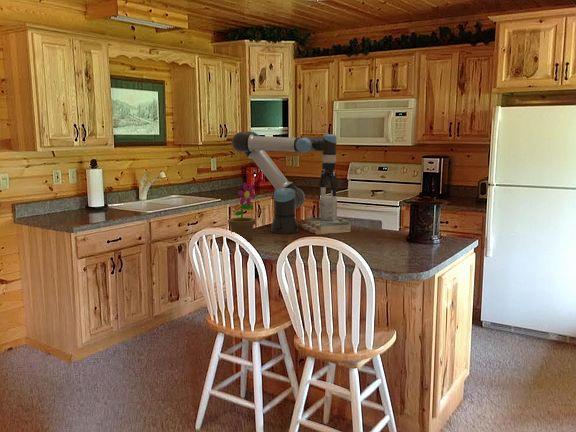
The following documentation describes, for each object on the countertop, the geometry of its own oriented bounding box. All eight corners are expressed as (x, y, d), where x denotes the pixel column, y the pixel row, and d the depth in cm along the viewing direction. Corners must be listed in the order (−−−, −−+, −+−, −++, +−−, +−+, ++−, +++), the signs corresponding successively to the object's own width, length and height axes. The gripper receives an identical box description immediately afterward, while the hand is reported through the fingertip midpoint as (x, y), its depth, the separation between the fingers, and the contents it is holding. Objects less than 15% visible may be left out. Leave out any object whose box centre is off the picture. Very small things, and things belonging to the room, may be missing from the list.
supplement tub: (327, 220, 314) (327, 195, 312) (340, 222, 308) (340, 196, 306) (316, 222, 307) (316, 196, 305) (329, 224, 301) (329, 198, 299)
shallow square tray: (301, 227, 313) (301, 218, 312) (334, 225, 321) (334, 216, 320) (316, 234, 295) (316, 224, 294) (350, 231, 302) (350, 222, 301)
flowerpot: (241, 243, 272) (240, 183, 267) (222, 239, 282) (221, 181, 277) (261, 239, 282) (261, 181, 278) (243, 235, 292) (242, 179, 287)
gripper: (313, 160, 312) (313, 197, 316) (332, 164, 289) (331, 203, 293) (325, 160, 315) (324, 197, 318) (345, 164, 292) (344, 203, 296)
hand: (328, 200), depth 306 cm, fingers open, 13 cm apart
